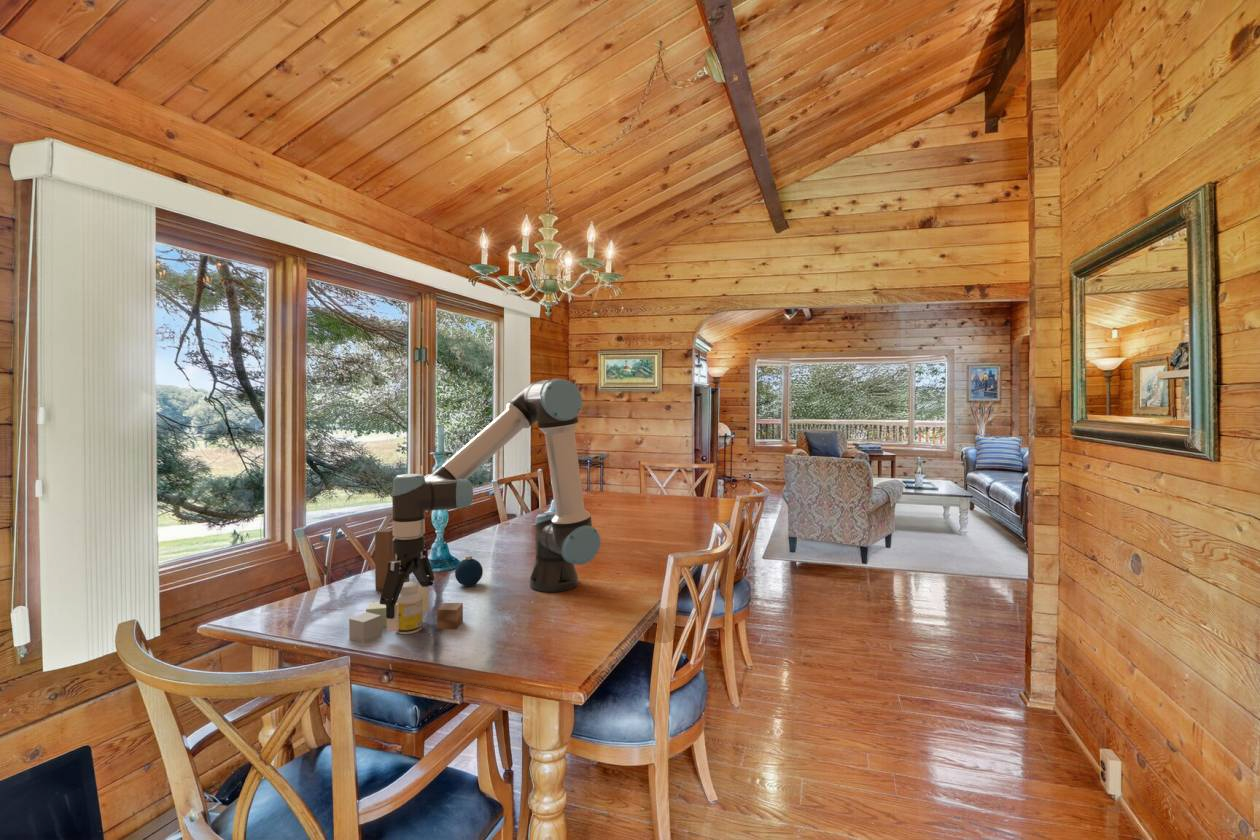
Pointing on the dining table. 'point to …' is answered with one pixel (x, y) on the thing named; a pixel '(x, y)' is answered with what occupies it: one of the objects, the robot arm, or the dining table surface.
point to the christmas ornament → (468, 571)
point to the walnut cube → (449, 615)
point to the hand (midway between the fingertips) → (408, 620)
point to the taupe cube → (365, 627)
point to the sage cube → (378, 611)
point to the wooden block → (383, 556)
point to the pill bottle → (410, 608)
